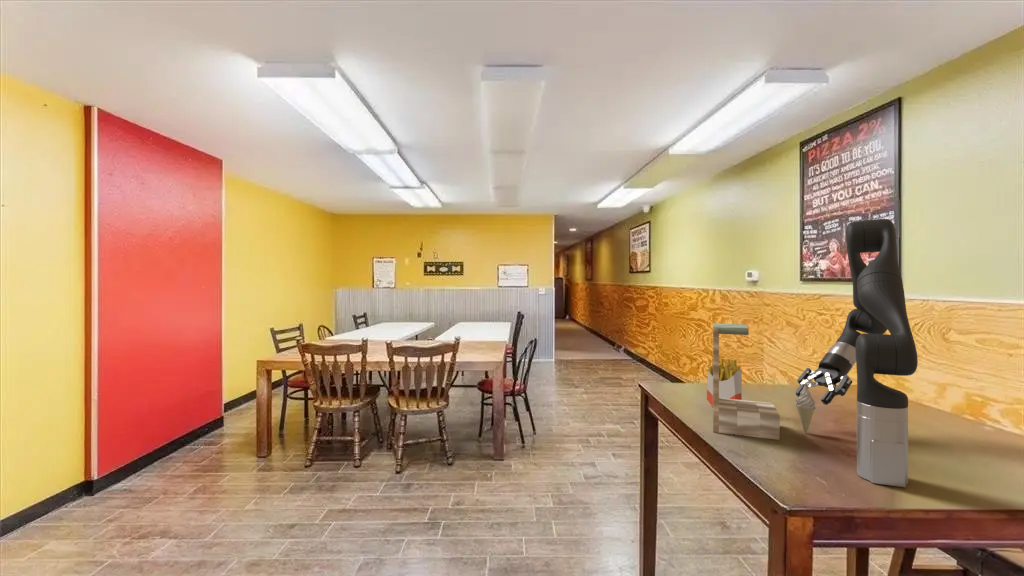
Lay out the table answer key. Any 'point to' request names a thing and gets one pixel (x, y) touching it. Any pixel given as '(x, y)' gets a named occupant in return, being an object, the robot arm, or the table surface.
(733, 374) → the french fries container
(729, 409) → the cone stand
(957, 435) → the table surface
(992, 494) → the table surface
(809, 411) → the ice cream cone
